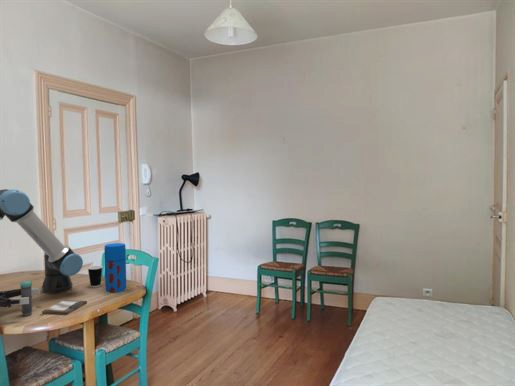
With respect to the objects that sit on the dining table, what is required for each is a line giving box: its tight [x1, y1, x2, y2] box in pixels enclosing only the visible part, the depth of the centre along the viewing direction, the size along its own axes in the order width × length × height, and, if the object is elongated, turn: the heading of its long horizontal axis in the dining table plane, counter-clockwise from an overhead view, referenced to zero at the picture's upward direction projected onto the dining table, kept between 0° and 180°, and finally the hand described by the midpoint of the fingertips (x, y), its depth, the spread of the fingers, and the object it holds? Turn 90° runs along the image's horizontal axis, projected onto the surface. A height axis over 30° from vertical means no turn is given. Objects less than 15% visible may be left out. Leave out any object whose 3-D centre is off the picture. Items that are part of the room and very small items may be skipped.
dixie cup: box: [87, 265, 103, 289], centre depth 218 cm, size 8×8×11 cm
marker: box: [19, 280, 33, 317], centre depth 173 cm, size 4×4×15 cm
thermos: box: [103, 242, 127, 294], centre depth 211 cm, size 11×11×25 cm
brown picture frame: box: [41, 299, 88, 316], centre depth 182 cm, size 16×12×2 cm
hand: (34, 295), depth 174 cm, fingers open, 13 cm apart
